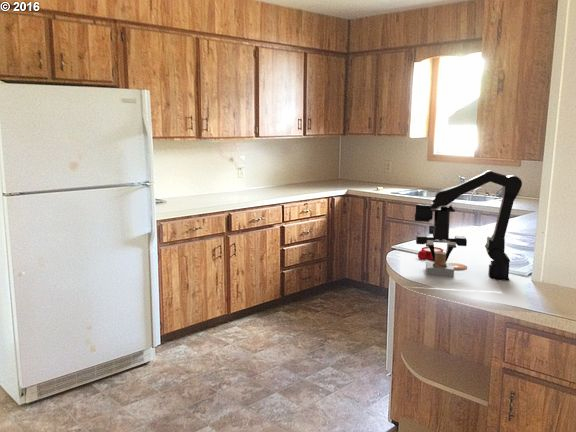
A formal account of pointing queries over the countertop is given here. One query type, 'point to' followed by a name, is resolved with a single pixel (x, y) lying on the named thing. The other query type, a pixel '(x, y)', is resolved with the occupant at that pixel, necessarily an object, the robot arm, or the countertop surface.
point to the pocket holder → (439, 270)
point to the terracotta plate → (459, 266)
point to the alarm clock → (427, 253)
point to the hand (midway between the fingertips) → (439, 261)
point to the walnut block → (440, 259)
